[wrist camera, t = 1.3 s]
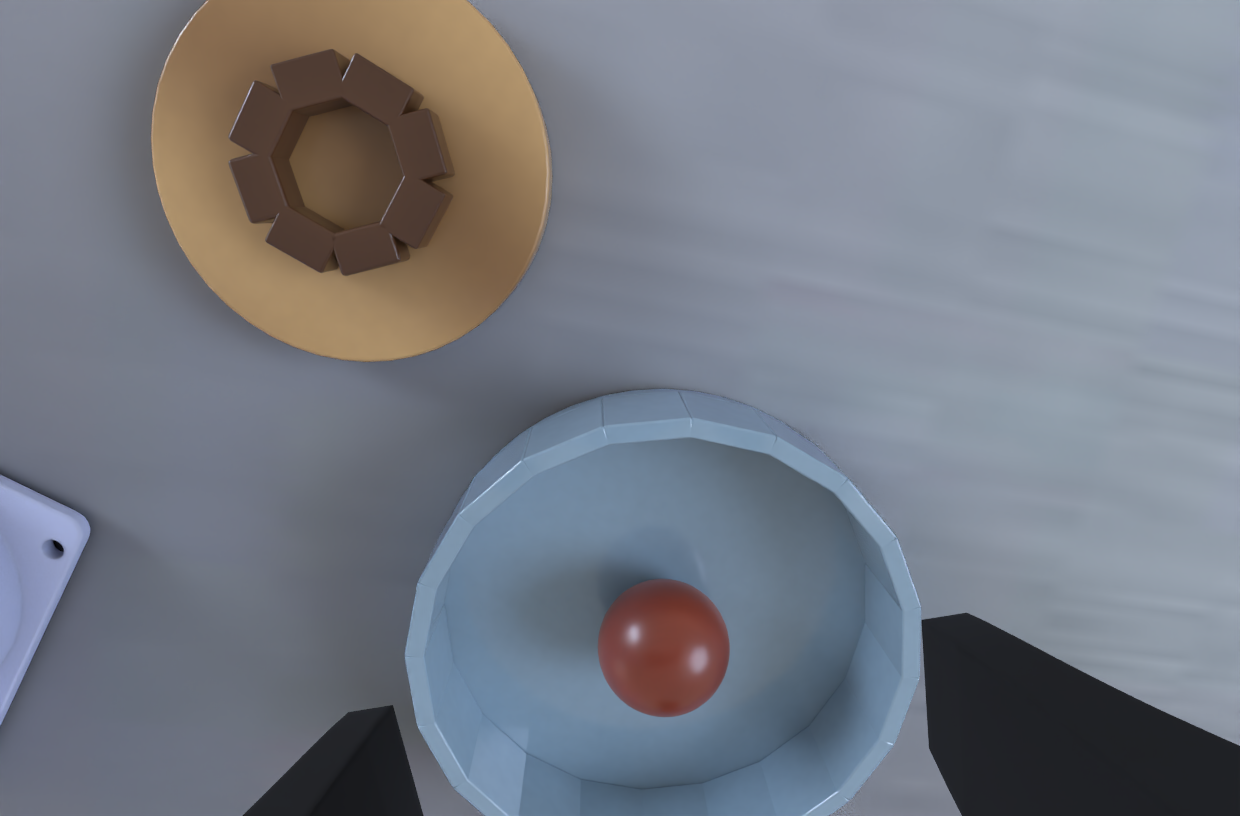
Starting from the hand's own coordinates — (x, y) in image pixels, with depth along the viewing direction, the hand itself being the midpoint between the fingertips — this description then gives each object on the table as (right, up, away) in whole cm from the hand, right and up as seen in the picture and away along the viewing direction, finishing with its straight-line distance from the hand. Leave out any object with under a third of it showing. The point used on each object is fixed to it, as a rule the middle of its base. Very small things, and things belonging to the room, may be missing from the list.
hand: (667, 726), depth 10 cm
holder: (-6, +10, +7) cm, 14 cm away
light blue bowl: (0, -1, +10) cm, 10 cm away
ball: (0, -2, +8) cm, 8 cm away
